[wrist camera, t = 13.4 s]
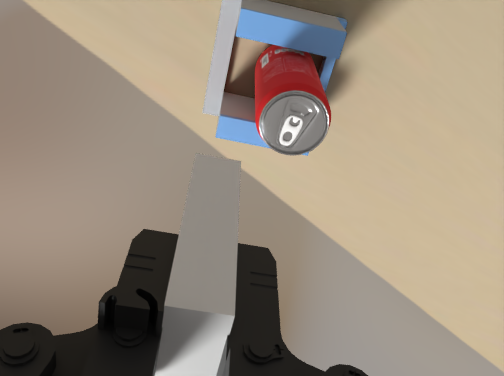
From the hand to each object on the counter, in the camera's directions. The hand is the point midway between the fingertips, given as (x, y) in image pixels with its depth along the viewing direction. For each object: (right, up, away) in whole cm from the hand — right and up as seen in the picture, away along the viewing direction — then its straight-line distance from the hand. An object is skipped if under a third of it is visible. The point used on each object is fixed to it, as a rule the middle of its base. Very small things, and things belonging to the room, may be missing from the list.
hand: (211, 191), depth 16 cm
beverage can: (+4, +11, +26) cm, 28 cm away
